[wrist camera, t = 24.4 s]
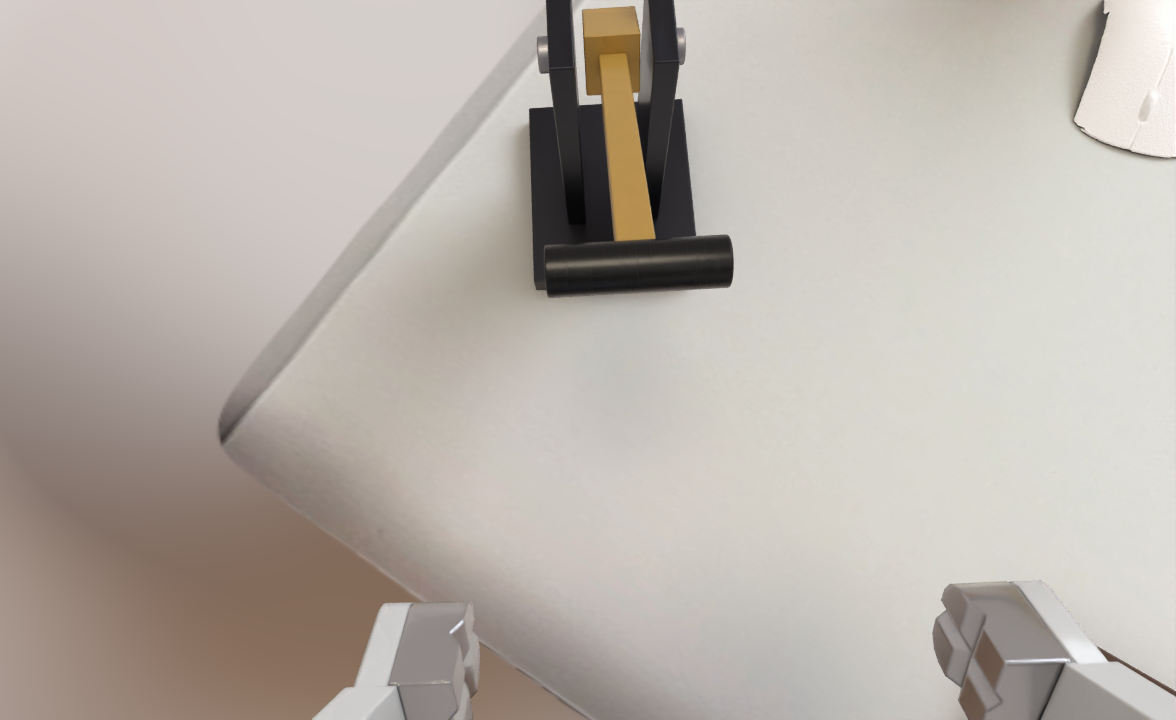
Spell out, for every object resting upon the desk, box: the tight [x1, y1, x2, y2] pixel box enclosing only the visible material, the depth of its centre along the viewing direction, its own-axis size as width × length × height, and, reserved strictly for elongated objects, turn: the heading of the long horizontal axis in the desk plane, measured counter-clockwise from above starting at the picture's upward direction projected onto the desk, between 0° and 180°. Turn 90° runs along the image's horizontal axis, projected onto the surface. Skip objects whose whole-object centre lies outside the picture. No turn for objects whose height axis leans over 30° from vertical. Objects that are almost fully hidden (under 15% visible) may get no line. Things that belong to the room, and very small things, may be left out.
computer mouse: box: [1074, 0, 1176, 158], centre depth 40 cm, size 7×12×2 cm, turn 159°
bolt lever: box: [544, 6, 734, 298], centre depth 24 cm, size 16×5×2 cm, turn 2°
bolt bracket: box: [529, 0, 696, 290], centre depth 33 cm, size 11×9×14 cm
